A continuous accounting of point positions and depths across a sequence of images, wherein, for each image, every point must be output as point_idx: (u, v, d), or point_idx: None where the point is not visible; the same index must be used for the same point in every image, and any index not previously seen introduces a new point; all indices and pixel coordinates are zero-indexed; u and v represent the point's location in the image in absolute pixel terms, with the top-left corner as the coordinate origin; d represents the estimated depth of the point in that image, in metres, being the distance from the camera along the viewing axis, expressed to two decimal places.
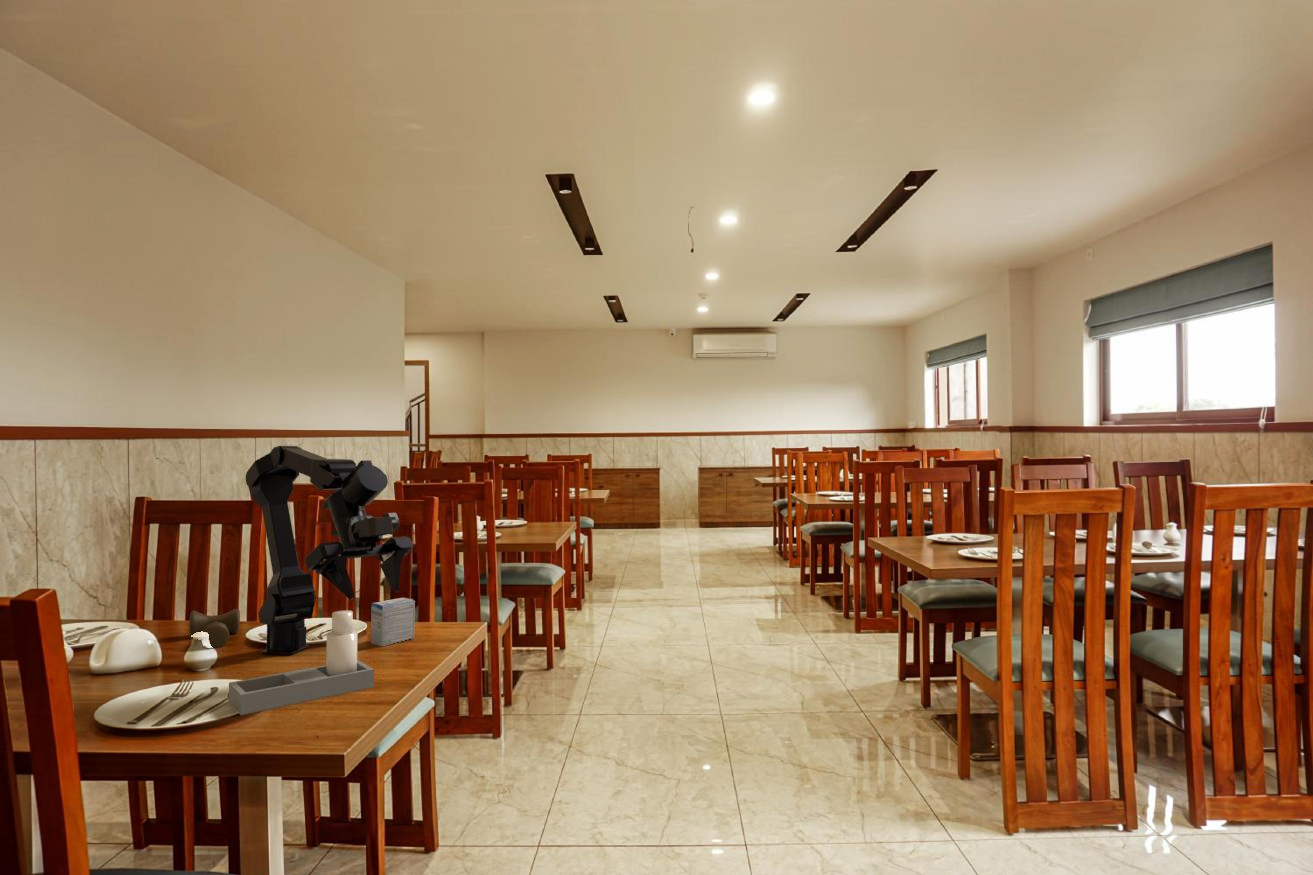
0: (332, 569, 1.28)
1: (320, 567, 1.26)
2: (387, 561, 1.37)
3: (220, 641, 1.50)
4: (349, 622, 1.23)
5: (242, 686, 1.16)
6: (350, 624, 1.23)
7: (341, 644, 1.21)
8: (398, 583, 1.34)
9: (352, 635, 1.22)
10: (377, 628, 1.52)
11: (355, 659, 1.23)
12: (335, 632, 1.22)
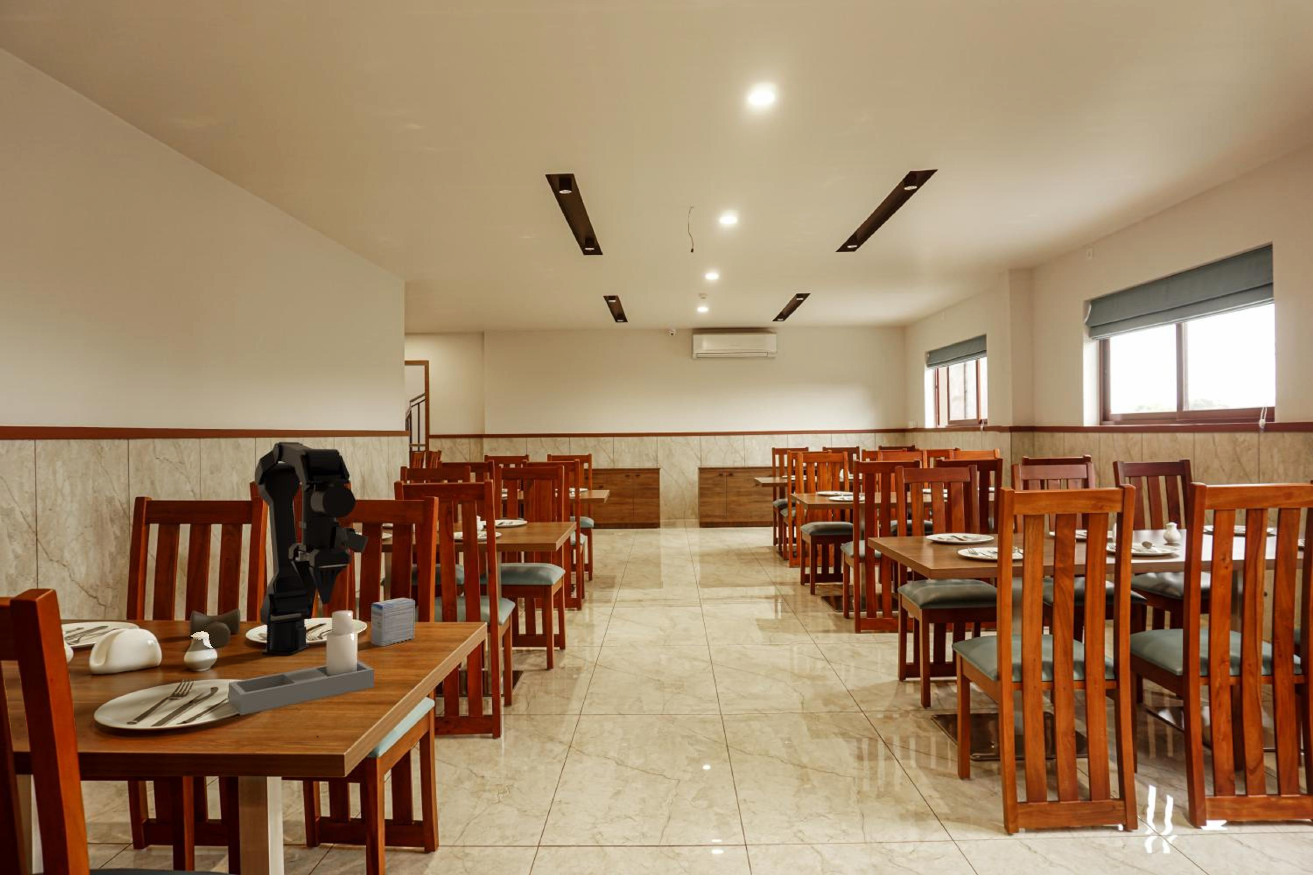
0: (322, 570, 1.29)
1: (326, 567, 1.28)
2: (308, 563, 1.38)
3: (221, 641, 1.50)
4: (349, 622, 1.23)
5: (242, 686, 1.16)
6: (350, 624, 1.23)
7: (341, 644, 1.21)
8: None
9: (352, 635, 1.22)
10: (377, 628, 1.52)
11: (355, 659, 1.23)
12: (335, 632, 1.22)
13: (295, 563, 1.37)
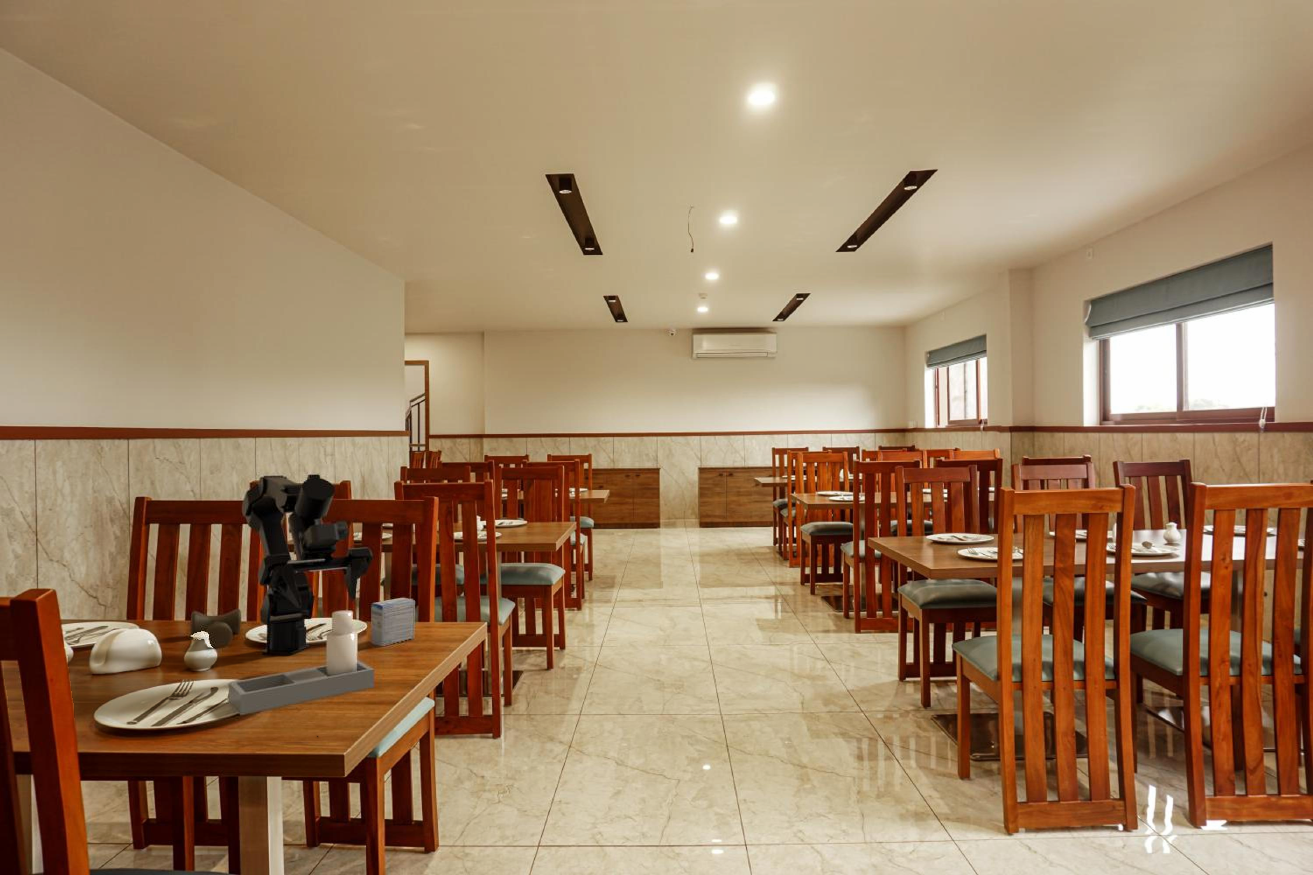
0: (283, 581, 1.29)
1: (270, 580, 1.28)
2: (347, 572, 1.36)
3: (223, 641, 1.50)
4: (349, 622, 1.23)
5: (242, 686, 1.16)
6: (350, 624, 1.23)
7: (341, 644, 1.21)
8: (354, 591, 1.33)
9: (352, 635, 1.22)
10: (377, 628, 1.52)
11: (355, 659, 1.23)
12: (335, 632, 1.22)
13: (344, 579, 1.38)
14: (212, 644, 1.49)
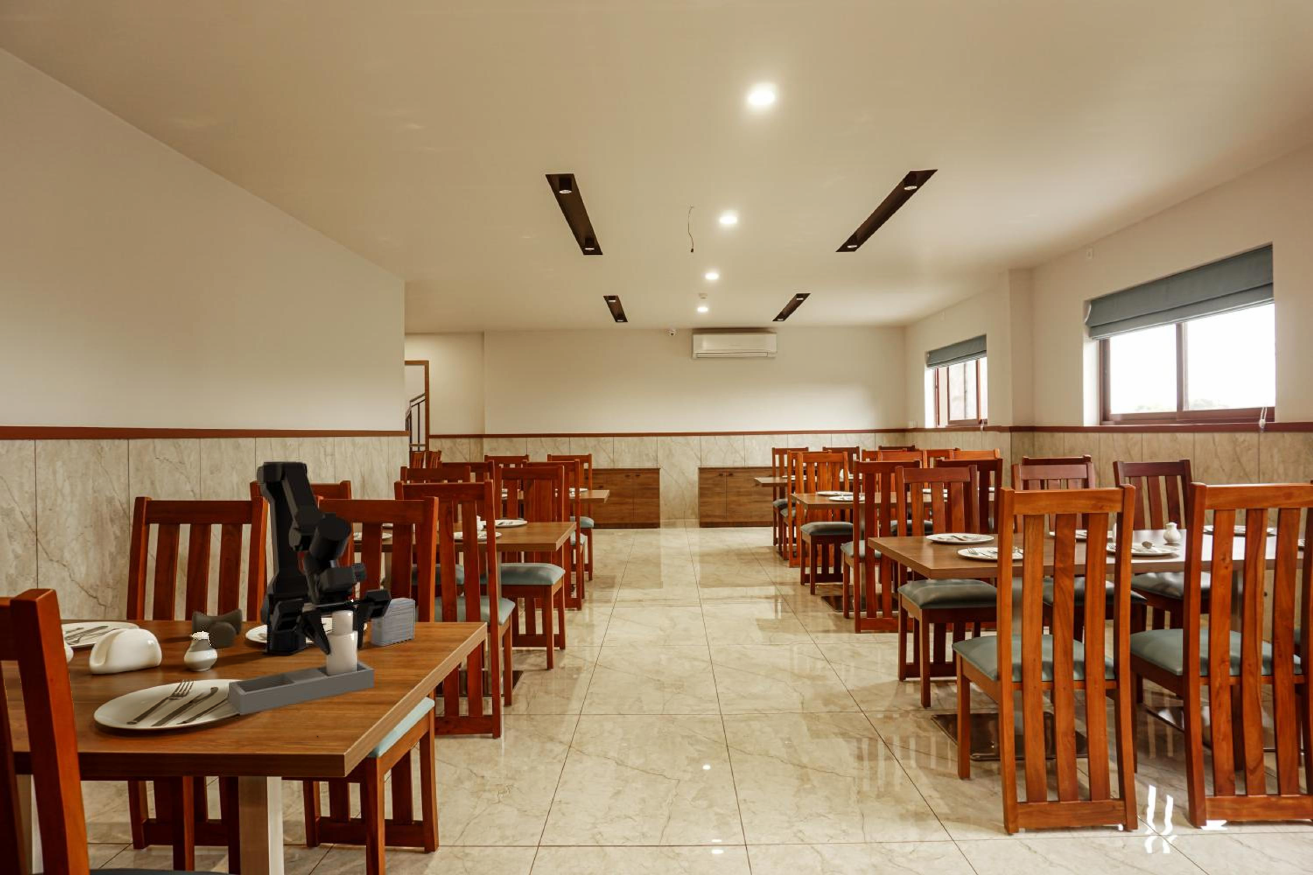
0: (311, 626, 1.23)
1: (297, 625, 1.22)
2: (353, 618, 1.28)
3: (227, 641, 1.51)
4: (349, 622, 1.23)
5: (242, 686, 1.16)
6: (350, 624, 1.23)
7: (341, 644, 1.21)
8: (361, 639, 1.24)
9: (352, 635, 1.22)
10: (377, 628, 1.52)
11: (355, 659, 1.23)
12: (335, 632, 1.22)
13: None
14: (216, 644, 1.49)
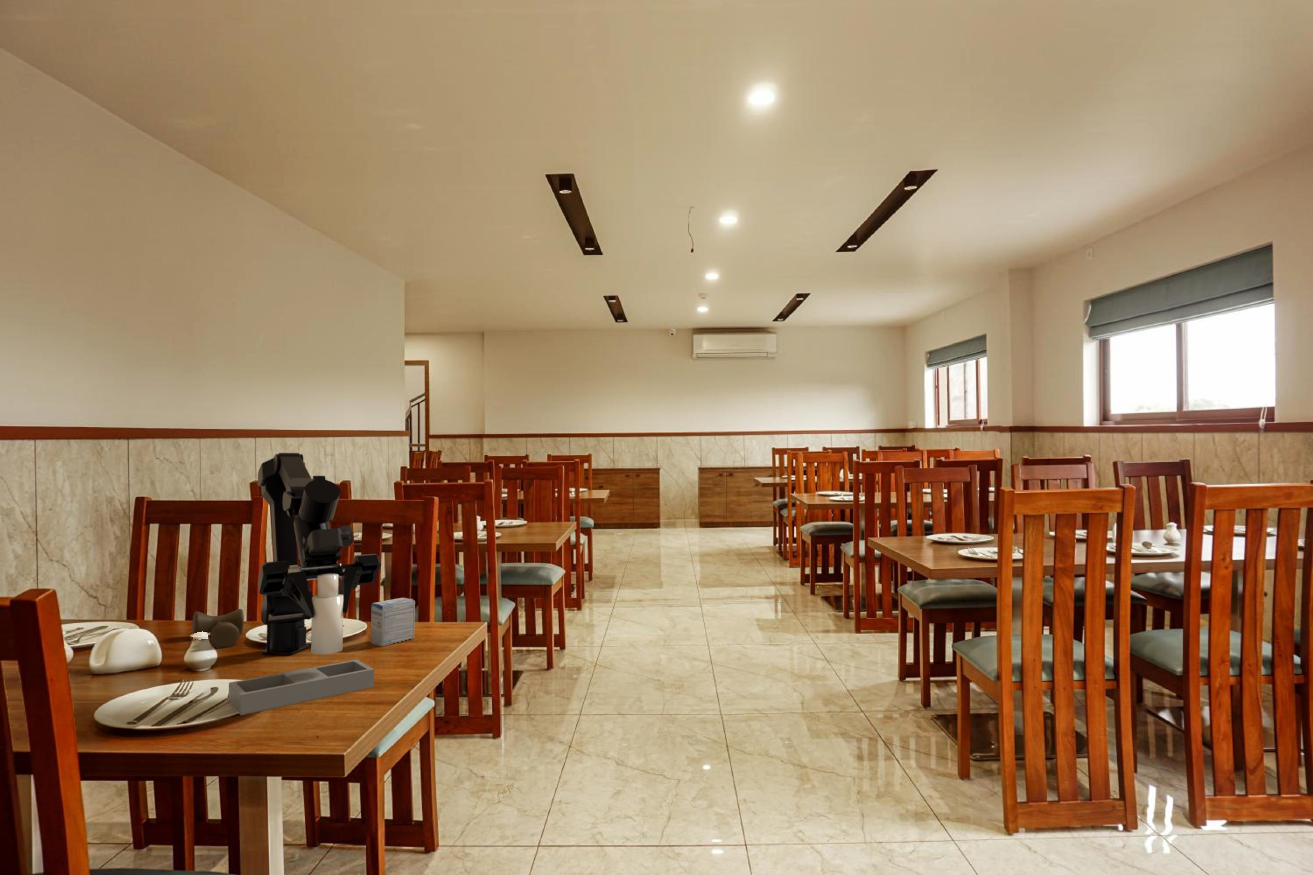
0: (297, 589, 1.22)
1: (283, 587, 1.21)
2: (341, 582, 1.26)
3: (231, 640, 1.51)
4: (334, 585, 1.21)
5: (242, 686, 1.16)
6: (335, 587, 1.21)
7: (325, 606, 1.19)
8: (347, 602, 1.22)
9: (337, 598, 1.20)
10: (377, 628, 1.52)
11: (340, 623, 1.21)
12: (320, 595, 1.20)
13: (339, 589, 1.27)
14: (219, 644, 1.50)
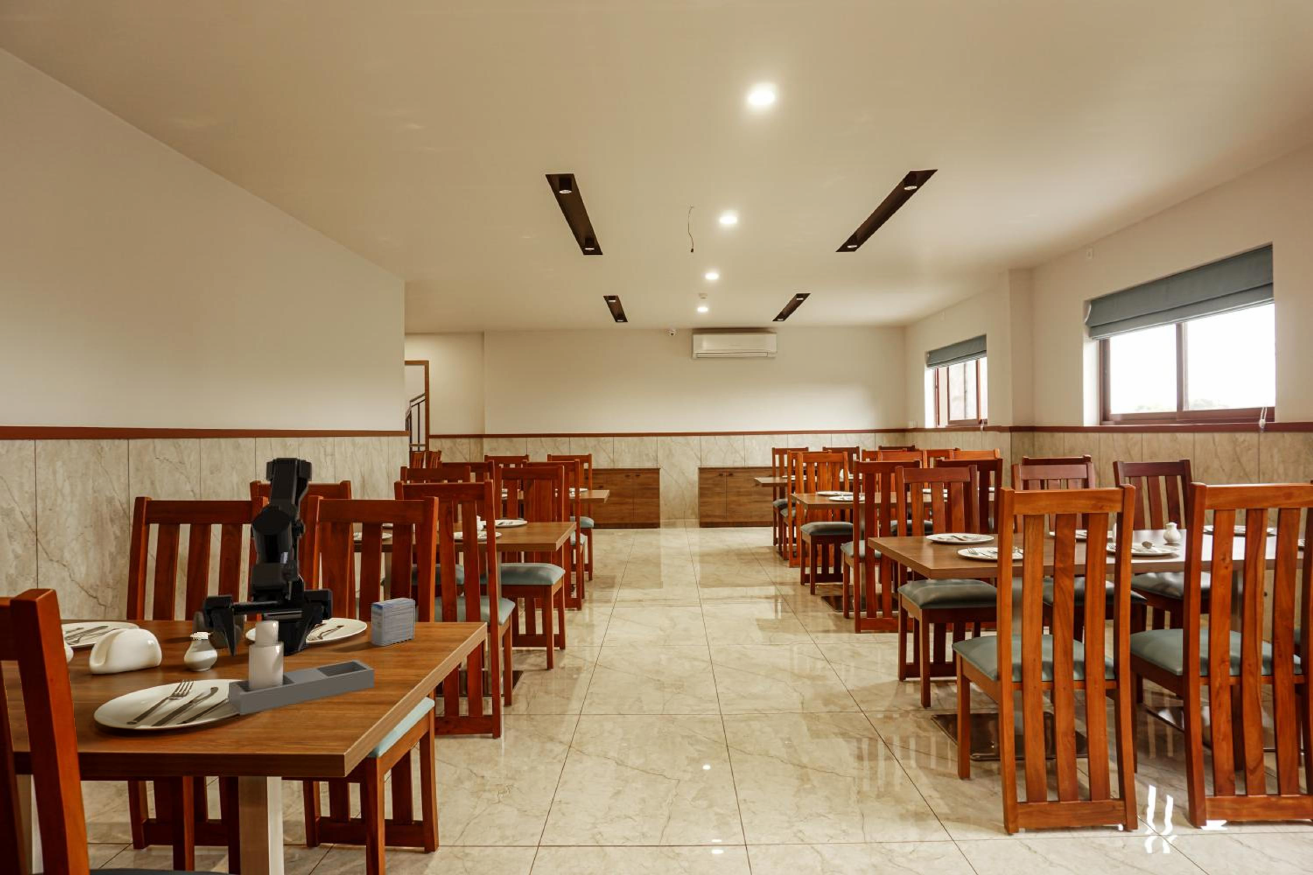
0: None
1: None
2: None
3: None
4: (270, 634, 1.14)
5: (242, 686, 1.16)
6: (272, 636, 1.15)
7: (258, 656, 1.13)
8: (299, 641, 1.16)
9: (271, 648, 1.14)
10: (377, 628, 1.52)
11: (276, 674, 1.14)
12: (256, 643, 1.14)
13: None
14: (222, 644, 1.50)
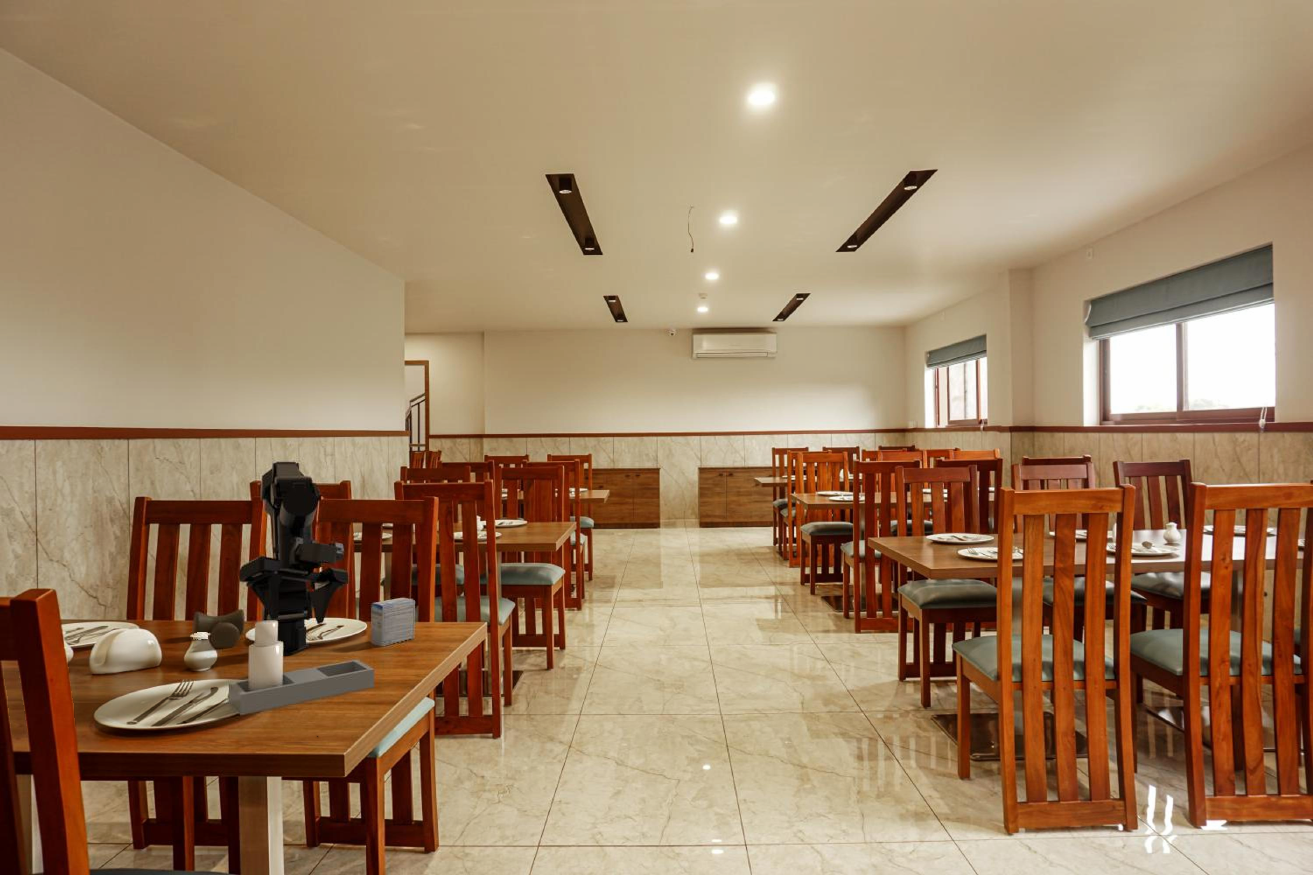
0: (263, 585, 1.26)
1: (252, 580, 1.24)
2: (319, 590, 1.35)
3: (231, 641, 1.50)
4: (269, 634, 1.14)
5: (242, 686, 1.16)
6: (271, 636, 1.15)
7: (258, 656, 1.13)
8: (324, 615, 1.32)
9: (271, 648, 1.14)
10: (377, 628, 1.52)
11: (276, 674, 1.14)
12: (255, 643, 1.14)
13: (310, 593, 1.36)
14: (219, 644, 1.49)
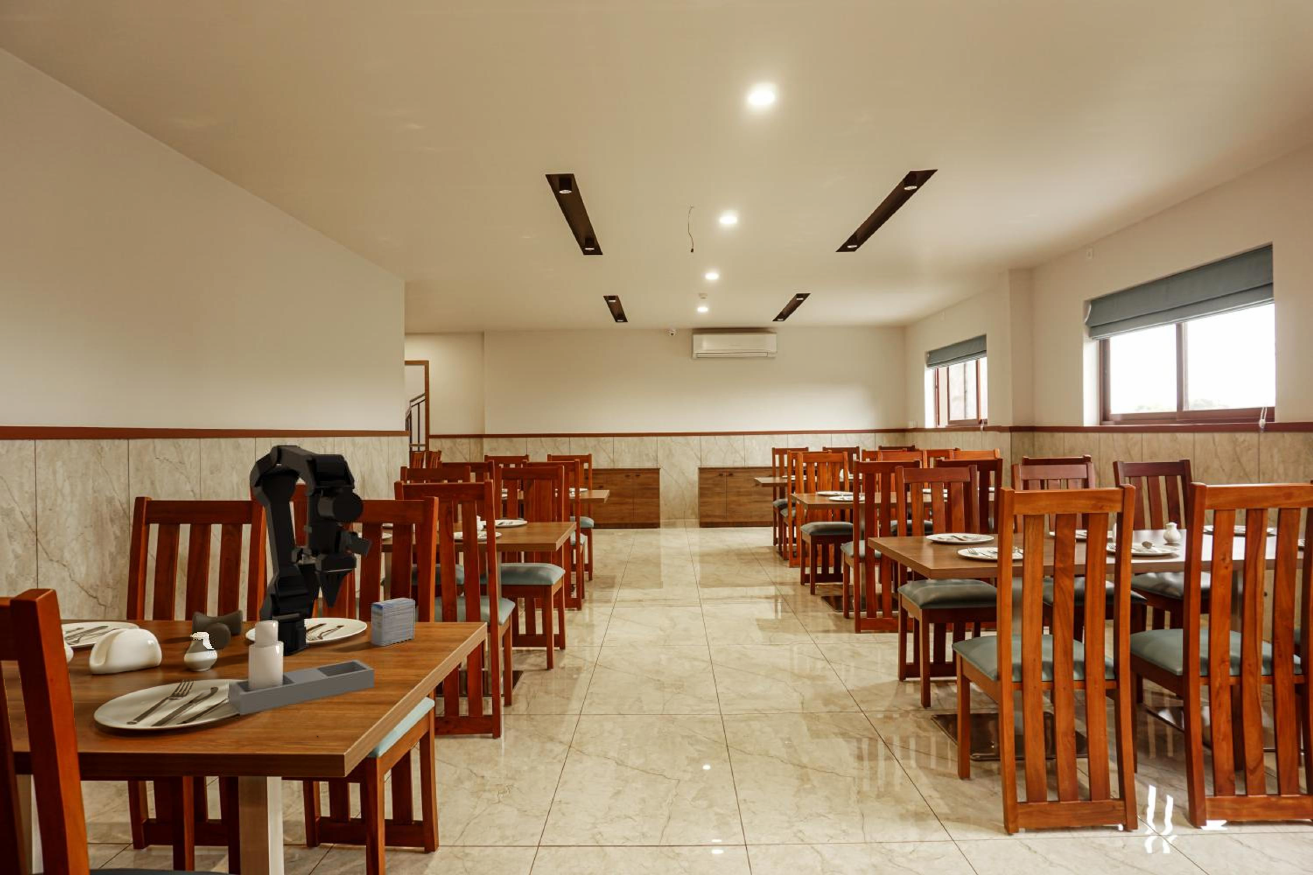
0: None
1: (332, 572, 1.30)
2: (311, 566, 1.40)
3: (221, 642, 1.49)
4: (270, 634, 1.14)
5: (242, 686, 1.16)
6: (272, 636, 1.15)
7: (258, 657, 1.13)
8: None
9: (271, 648, 1.14)
10: (377, 628, 1.52)
11: (276, 674, 1.14)
12: (256, 643, 1.14)
13: (299, 566, 1.39)
14: None
